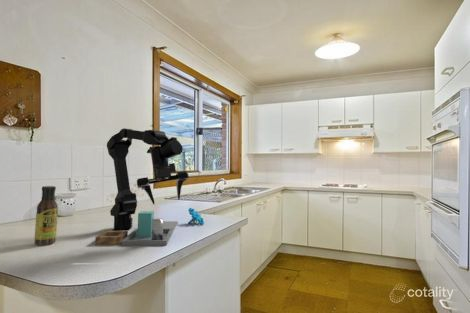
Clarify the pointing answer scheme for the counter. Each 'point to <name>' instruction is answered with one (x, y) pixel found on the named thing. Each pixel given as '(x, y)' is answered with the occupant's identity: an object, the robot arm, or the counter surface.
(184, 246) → the counter surface
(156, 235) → the silver metal cylinder
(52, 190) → the sauce bottle
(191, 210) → the blue toy frog
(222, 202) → the counter surface
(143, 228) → the block
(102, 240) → the square wooden tray
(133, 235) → the case
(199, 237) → the counter surface
